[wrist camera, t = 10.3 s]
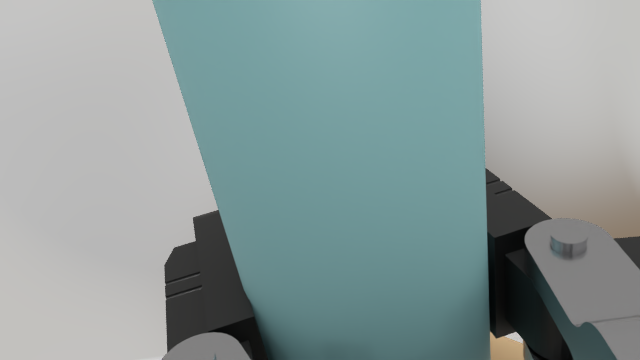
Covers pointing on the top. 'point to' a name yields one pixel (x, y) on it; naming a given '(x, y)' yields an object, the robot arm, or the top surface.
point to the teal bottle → (345, 168)
